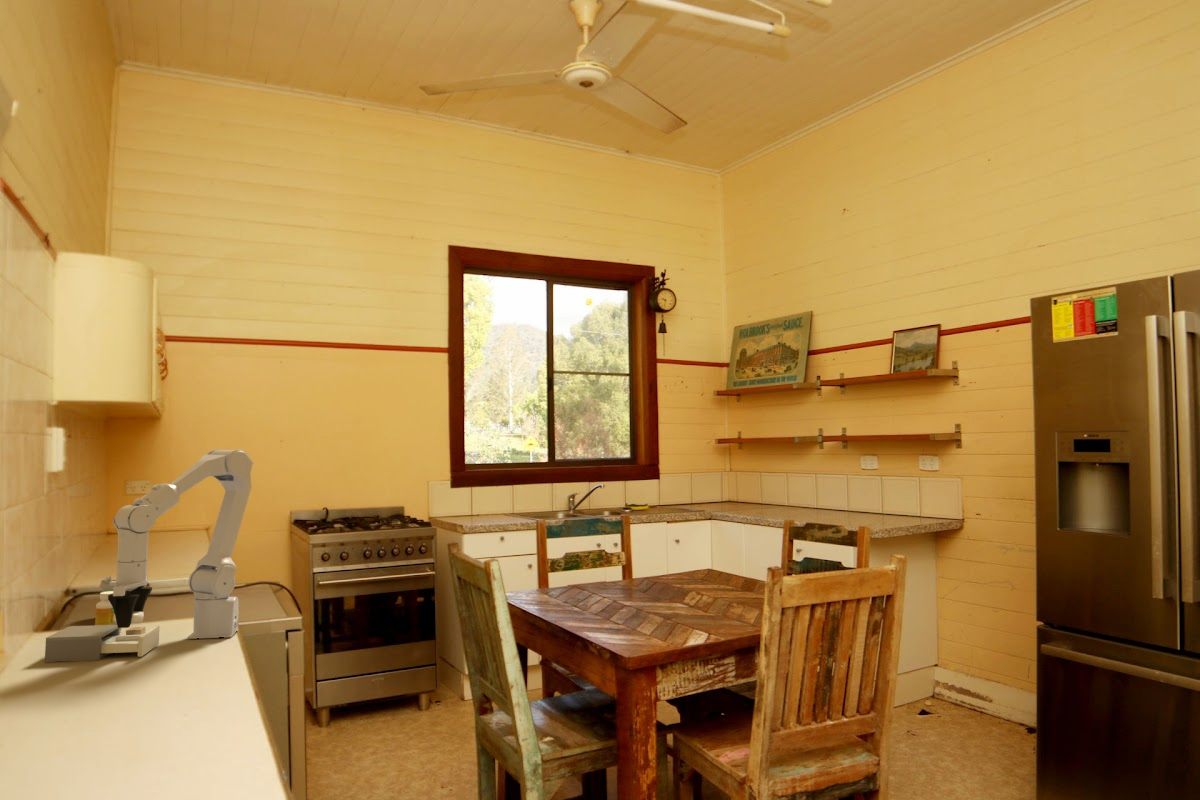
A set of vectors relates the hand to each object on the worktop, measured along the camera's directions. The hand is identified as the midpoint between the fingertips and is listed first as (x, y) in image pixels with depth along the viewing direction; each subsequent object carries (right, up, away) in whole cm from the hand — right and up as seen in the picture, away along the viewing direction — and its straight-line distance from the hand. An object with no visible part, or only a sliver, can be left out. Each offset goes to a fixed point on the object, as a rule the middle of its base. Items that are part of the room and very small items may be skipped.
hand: (129, 624), depth 171 cm
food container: (-24, -8, +35) cm, 43 cm away
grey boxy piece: (-8, -6, -2) cm, 11 cm away
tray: (-1, -6, 0) cm, 6 cm away
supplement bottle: (-15, -7, +17) cm, 24 cm away
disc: (0, +1, 0) cm, 1 cm away
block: (-3, -7, +7) cm, 10 cm away
